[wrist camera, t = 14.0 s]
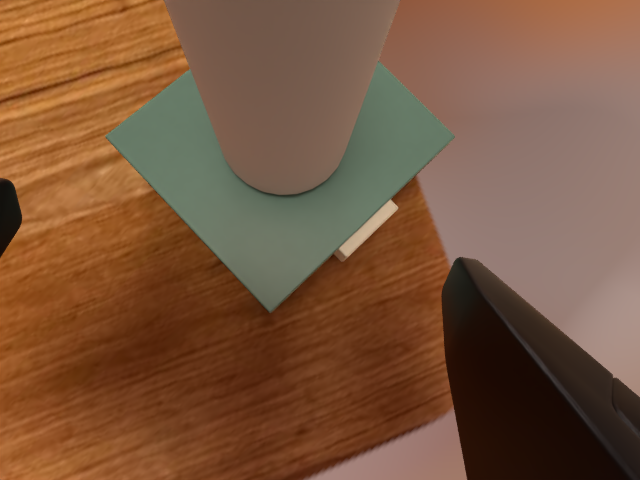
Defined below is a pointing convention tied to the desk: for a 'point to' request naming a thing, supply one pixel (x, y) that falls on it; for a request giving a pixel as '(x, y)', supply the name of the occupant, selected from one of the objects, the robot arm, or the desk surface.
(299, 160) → the beverage can
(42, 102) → the desk surface
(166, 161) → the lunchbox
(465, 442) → the robot arm
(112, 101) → the desk surface
